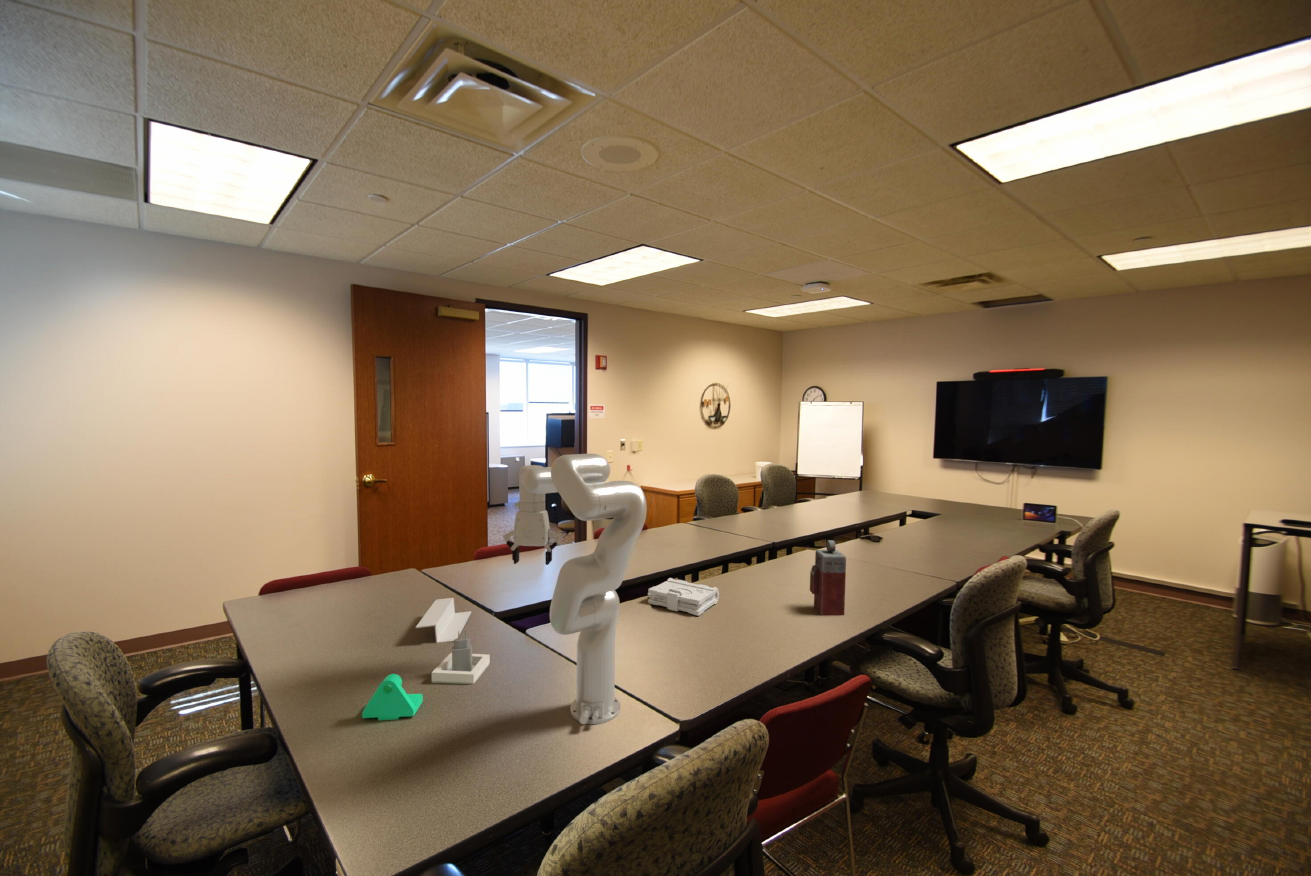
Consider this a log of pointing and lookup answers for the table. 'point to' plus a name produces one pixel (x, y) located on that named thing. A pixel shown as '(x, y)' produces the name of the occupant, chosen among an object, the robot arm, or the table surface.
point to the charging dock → (446, 674)
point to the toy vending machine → (829, 581)
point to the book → (683, 596)
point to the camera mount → (392, 701)
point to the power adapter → (462, 654)
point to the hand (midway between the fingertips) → (532, 563)
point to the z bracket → (444, 620)
